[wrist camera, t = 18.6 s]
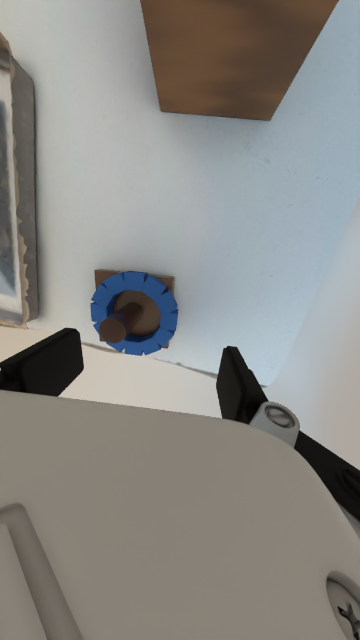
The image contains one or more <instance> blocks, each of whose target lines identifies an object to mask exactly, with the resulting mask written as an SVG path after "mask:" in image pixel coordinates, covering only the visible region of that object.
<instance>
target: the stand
mask: <svg viewBox="0 0 360 640" xmlns="http://www.w3.org/2000/svg"><path fill="white" fill-rule="evenodd" d="M338 1H339V0H140V2H141V7H142V13H143V18H144V23H145V29H146V34H147V40H148V45H149V50H150V56H151V61H152V67H153V72H154V77H155V83H156V88H157V94H158V99H159V104H160V110H161V111H164V112H175V113H187V114H199V115H211V116H222V117H234V118H246V119H258V120H271V118H272V116H273V114H274V113H275V111H276V109H277V107H278V106H279V104H280V102H281V100H282V99H283V97H284V95H285V93H286V92H287V90H288V88H289V86H290V85H291V83H292V81H293V79H294V78H295V76H296V74H297V72H298V71H299V69H300V67H301V65H302V64H303V62H304V60H305V58H306V57H307V55H308V53H309V51H310V50H311V48H312V46H313V44H314V43H315V41H316V39H317V38H318V36H319V34H320V32H321V31H322V29H323V27H324V25H325V24H326V22H327V20H328V18H329V17H330V15H331V13H332V11H333V10H334V8H335V6H336V4H337V3H338Z"/></svg>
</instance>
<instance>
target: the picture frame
mask: <svg viewBox="0 0 360 640" xmlns="http://www.w3.org/2000/svg"><path fill="white" fill-rule="evenodd" d="M34 164H35V162H34V94H33V81H32V79H31V78H30V77H29V75H28V74H27V73H26V72H25V71H24V70H23V69H22V67H21V66H20V65H19V64H18V63H17V61H16V60H15V59H14V58H13V56H12V53H11V49H10V46H9V43H8V41H7V40H6V39H5V37H4V36H3V35H2V33H0V324H3V323H5V324H8V325H10V326H15V325H16V326H18V327H20V328H22V329H28V327H27V323H26V322H29V321H31V320H34V319H37V317H38V293H37V292H38V291H37V267H36V265H37V257H36V228H35V196H34V191H35V185H34Z"/></svg>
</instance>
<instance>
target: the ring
mask: <svg viewBox="0 0 360 640" xmlns="http://www.w3.org/2000/svg"><path fill="white" fill-rule="evenodd" d="M103 282H104V283H102V284H99V286H98V288H97V290H96V292H95V293H94V295H93V297H92V299H91V300H93V301H94V302H93V303H91V317H92V321H94V322H97V323H96V324H94V325H93V326H94V327H95V329H96V331H97V332H98V334H99V335H100V333H99V325H100V323H101V322H102V321H103V320H104V319H106V318H107V317H109V316H110V315H112V314H113V303H114V302H115V300H116V298H117V297H118V295H119V293H121V292H123V291H125V290H134V291H142V292H143V293H144V294H146V295H147V296H149V297H150V298H152V299H153V300H154V301H155V303H156V305H157V307H158V309H159V311H160V313H161V318H160V326H159V327H158V328H157V330H156V331H155V332H153V333H151V334H148V335H146V336H136V335H131V334H128V335H127V336H126V337H125V338H124V340H123V341H121V342H120V343H116V344H112V343H109V342H106V343H107V344H108V345H110V346H111V347H113V348H115V349H116V350H118V351H119V352H122V351H123V349H124V348H125V354H131V355H139V356H142V354H143V352H144V354H145V355H148V354H150V353H153V352H156V351H158V350H161V347H162V346H163V347H165V345H166V344H167V343H168V342H169V340H170V339H171V338H172V336H173V335H174V331H176V326H177V317H178V309H177V303H176V301H175V299H174V296H173V294H172V292H171V290H170V289H169V290H167V291H165V292H164V290H165V289H166V287H167V285H166V284H164V283H163V282H161V281H160V280H159V279H157V278H156V277H155V276H153V275H150V276H148V273H143V272H134V271H128V272H121V273H118V274H116V275H114V276H112V277H110V278H108V279H106V280H104V281H103ZM100 337H101V336H100ZM101 338H102V337H101ZM102 340H104V339H103V338H102Z"/></svg>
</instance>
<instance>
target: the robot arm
mask: <svg viewBox="0 0 360 640" xmlns="http://www.w3.org/2000/svg"><path fill="white" fill-rule="evenodd" d="M0 368H1V371H0V640H360V471H359V470H358V469H356V468H355V467H354V466H352V465H350V464H349V463H347V462H346V461H345V460H343V459H342V458H340V457H339V456H337V455H336V454H334V453H333V452H331V451H330V450H328V449H327V448H325V447H324V446H322V445H321V444H319V443H318V442H316V441H315V440H313V439H312V438H310V437H309V436H307V435H306V434H304V433H303V432H301V431H300V430H299V428H300V424H299V421H298V419H297V417H296V416H295V415H294V414H293V413H292V412H291V411H290V410H289V409H288V408H286V407H284V406H283V405H281V404H279V403H275V402H269V401H268V399H267V398H266V396H265V394H264V392H263V390H262V388H261V387H260V385H259V383H258V381H257V379H256V377H255V376H254V374H253V372H252V371H251V370H250V369H248V367H247V365H246V363H245V361H244V359H243V357H242V355H241V354H240V352H239V350H238V348H237V347H232V346H227V348H224V349H223V354H222V358H221V363H220V368H219V373H218V377H217V382H216V389H217V394H218V398H219V404H220V409H221V414H222V419H221V418H215V417H209V416H203V415H196V414H188V413H181V412H173V411H165V410H158V409H150V408H142V407H134V406H126V405H118V404H110V403H102V402H95V401H86V400H79V399H71V398H63V397H58V396H59V395H60V394H61V393H62V392H63V391H64V390H65V388H67V387H68V386H69V385H70V384H71V383H72V381H73V380H74V379H75V378H76V377H77V376H78V375H79V374H80V373H81V372H82V371H83V369H84V364H83V356H82V348H81V340H80V333H79V332H78V331H77V329H74V328H64V329H62V330H60V331H58V332H56V333H55V334H53V335H51V336H49V337H47V338H45V339H43V340H41V341H40V342H38V343H36V344H34V345H32V346H30V347H28V348H27V349H25V350H23V351H21V352H19V353H17V354H15V355H13V356H12V357H10V358H8V359H6V360H4V361H2V362H1V363H0ZM326 581H327V582H326Z"/></svg>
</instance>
